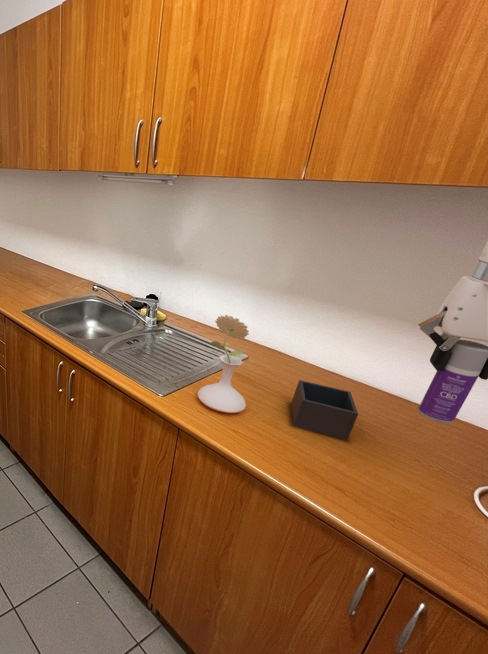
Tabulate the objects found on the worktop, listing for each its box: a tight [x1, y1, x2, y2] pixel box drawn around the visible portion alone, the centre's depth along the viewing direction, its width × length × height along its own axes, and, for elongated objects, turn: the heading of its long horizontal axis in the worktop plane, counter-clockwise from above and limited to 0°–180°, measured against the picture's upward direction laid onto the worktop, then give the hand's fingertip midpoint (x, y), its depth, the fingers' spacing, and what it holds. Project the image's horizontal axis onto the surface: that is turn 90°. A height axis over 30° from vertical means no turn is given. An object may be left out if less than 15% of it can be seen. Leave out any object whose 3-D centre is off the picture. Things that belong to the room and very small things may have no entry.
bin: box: [290, 379, 359, 441], centre depth 98 cm, size 10×10×8 cm
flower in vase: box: [197, 314, 250, 414], centre depth 103 cm, size 13×11×25 cm
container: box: [417, 339, 488, 424], centre depth 71 cm, size 5×5×15 cm
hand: (458, 370), depth 71 cm, fingers closed on container, 4 cm apart
